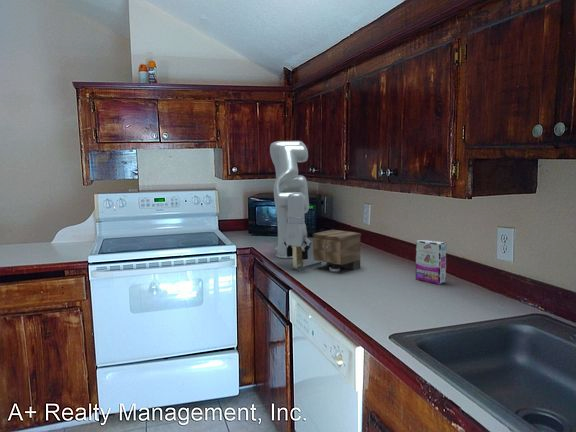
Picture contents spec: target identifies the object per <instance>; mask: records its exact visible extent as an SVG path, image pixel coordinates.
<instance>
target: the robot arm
mask: <svg viewBox="0 0 576 432" xmlns="http://www.w3.org/2000/svg"><path fill="white" fill-rule="evenodd" d="M269 153H270V157H271V158H270V159H271V160H272V163H273V165H274V169H275V170H274V171H275V179H276V180H275V182H274V184H273V198H274V204H275V206H274V207H275V211H276V220H277V246H275V247H274V251H276V253H275V257H276V258H280V259H293V246H297V247H300V246H301V248H302V250H303V251H302V260H303V261H304V260H307V259H308V258H309V257H308V256H309V255H308V251H309V250H310V248H311V245H312V244H313V241H312V240H310V239H309V238H308V231H307V224H306V223H305V221H306V220H305V214H306V213H308V211H309V210H310V200H309V199H310V198H309V190H308V189H309V188H308V187H309V186H308V181H307V179H306V176H304V175H301V174H299V167H298V163H305V162H307V161H308V158H309V151H308V147H307V146H306V144H305V143H304V142H303V141H301V140H278V141H274V142H271V143H270V146H269Z"/></svg>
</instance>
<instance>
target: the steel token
mask: <svg viewBox="0 0 576 432" xmlns="http://www.w3.org/2000/svg"><path fill="white" fill-rule="evenodd" d="M341 271H342V269H341V267H337V266H329V272H332V273H338V272H341Z"/></svg>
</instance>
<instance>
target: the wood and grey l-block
mask: <svg viewBox="0 0 576 432" xmlns="http://www.w3.org/2000/svg"><path fill="white" fill-rule="evenodd" d="M302 251H303V250H302V248H301V246H300V247H297V246H293V258H292V270H293V269H296V270H295V271H297V270H301V271H303V270H302V269H304V270H306V268H308V269H311V268H314V267H318V266H321V265H322V261H318V260H311V261H309V262H305V263H303V261H304V260H302Z"/></svg>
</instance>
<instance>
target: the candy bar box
mask: <svg viewBox="0 0 576 432" xmlns="http://www.w3.org/2000/svg"><path fill="white" fill-rule="evenodd" d="M415 280H417V281H421V282H425V283H430V284H435V285H443V284H445V283H447V281H446V280H447V242H445V241H437V240H430V239H419V240H415Z"/></svg>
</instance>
